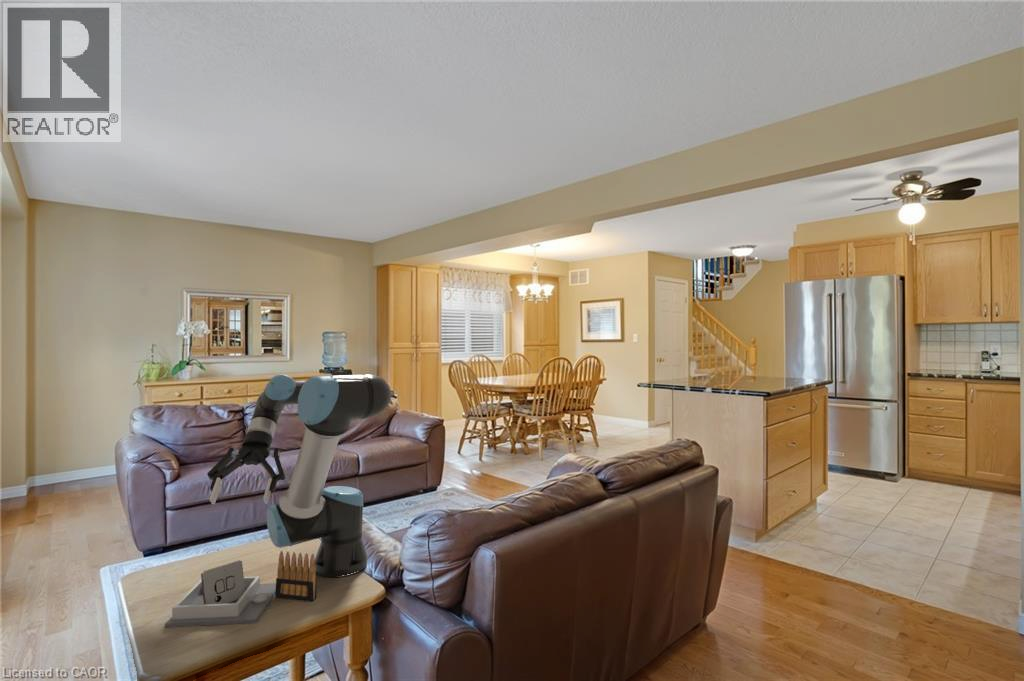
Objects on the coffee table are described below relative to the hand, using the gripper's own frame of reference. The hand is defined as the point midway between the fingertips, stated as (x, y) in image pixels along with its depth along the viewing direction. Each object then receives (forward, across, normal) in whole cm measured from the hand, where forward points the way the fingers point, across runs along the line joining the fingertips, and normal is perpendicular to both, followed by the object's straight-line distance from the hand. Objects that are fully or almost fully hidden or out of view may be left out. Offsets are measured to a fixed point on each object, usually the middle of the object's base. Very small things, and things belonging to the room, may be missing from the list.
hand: (238, 501), depth 138 cm
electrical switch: (+23, -1, -8) cm, 25 cm away
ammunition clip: (+23, -18, -9) cm, 30 cm away
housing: (+24, -2, -8) cm, 25 cm away
